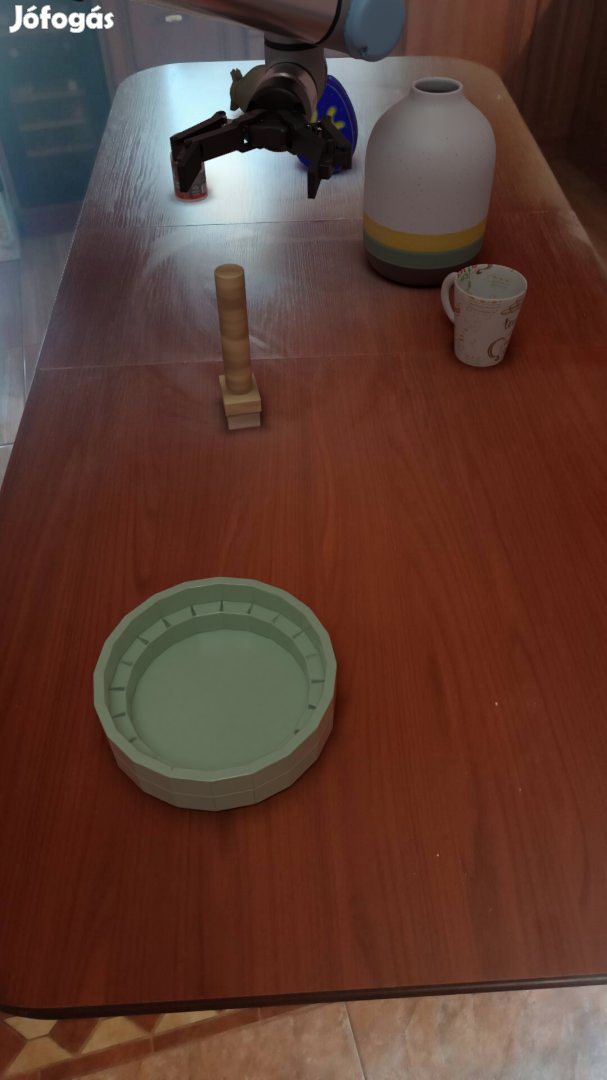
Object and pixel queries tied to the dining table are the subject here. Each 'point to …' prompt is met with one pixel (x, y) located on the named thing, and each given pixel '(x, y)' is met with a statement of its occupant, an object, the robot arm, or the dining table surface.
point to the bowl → (216, 692)
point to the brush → (236, 349)
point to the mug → (483, 311)
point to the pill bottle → (196, 190)
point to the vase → (427, 184)
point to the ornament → (336, 113)
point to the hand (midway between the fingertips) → (245, 182)
